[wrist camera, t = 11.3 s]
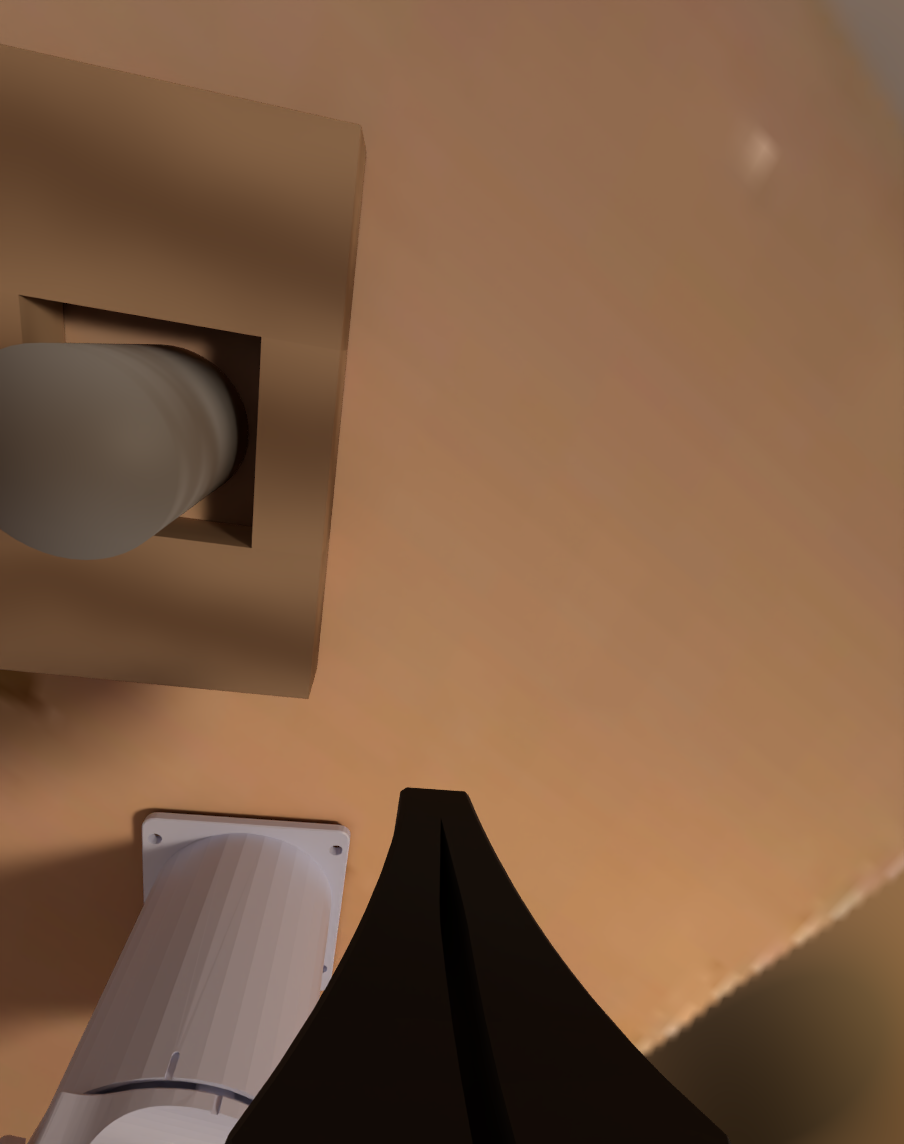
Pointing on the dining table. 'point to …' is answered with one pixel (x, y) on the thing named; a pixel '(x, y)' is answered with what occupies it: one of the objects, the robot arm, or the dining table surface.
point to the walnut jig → (167, 375)
